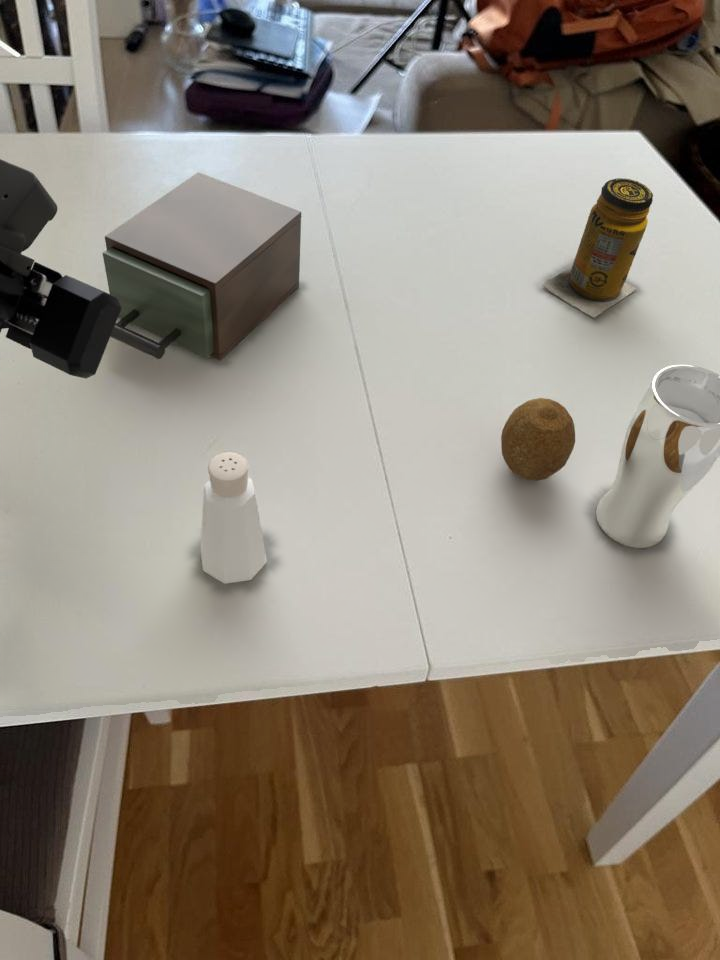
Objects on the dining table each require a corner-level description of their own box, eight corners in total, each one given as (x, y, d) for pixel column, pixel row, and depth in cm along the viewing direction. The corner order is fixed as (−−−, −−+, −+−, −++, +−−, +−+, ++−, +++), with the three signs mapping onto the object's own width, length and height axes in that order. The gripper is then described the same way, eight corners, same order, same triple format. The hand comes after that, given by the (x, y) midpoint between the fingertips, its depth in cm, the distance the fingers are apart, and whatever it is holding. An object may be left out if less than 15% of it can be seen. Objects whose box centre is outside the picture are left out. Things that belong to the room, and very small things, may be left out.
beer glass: (677, 507, 73) (751, 382, 62) (662, 565, 69) (738, 441, 58) (601, 479, 75) (659, 351, 63) (581, 533, 70) (640, 406, 59)
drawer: (181, 382, 77) (174, 319, 72) (85, 337, 80) (72, 273, 75) (283, 288, 88) (284, 228, 82) (195, 252, 91) (190, 191, 85)
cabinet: (220, 361, 81) (215, 283, 74) (117, 314, 84) (104, 236, 77) (299, 287, 90) (301, 211, 83) (203, 247, 93) (198, 171, 86)
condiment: (636, 290, 94) (674, 193, 85) (593, 319, 90) (629, 221, 81) (584, 260, 98) (616, 164, 89) (540, 287, 93) (569, 189, 84)
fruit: (519, 506, 72) (542, 442, 66) (479, 457, 75) (497, 393, 69) (575, 483, 74) (602, 420, 68) (533, 437, 78) (556, 373, 72)
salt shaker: (258, 591, 64) (256, 501, 56) (190, 578, 64) (178, 487, 56) (274, 536, 68) (275, 443, 59) (210, 524, 68) (201, 431, 60)
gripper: (79, 192, 50) (200, 262, 65) (-141, 101, 55) (19, 186, 70) (12, 363, 51) (147, 394, 66) (-198, 259, 56) (-28, 309, 71)
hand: (70, 315), depth 68 cm, fingers closed
